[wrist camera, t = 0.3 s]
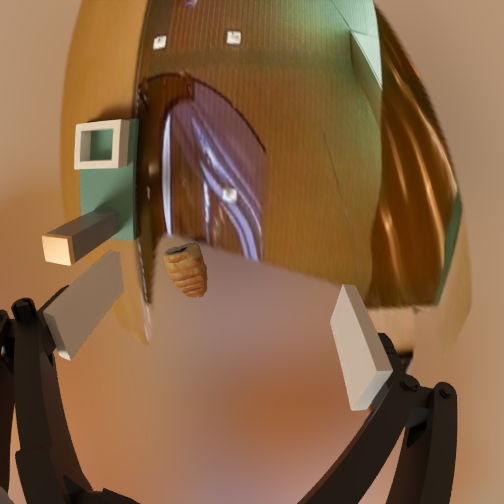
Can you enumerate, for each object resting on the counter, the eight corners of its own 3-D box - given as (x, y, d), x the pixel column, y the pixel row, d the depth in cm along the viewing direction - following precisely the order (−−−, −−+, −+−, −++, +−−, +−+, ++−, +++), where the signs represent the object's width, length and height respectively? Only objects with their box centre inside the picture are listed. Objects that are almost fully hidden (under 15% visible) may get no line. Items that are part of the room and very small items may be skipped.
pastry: (217, 288, 47) (214, 299, 43) (182, 296, 48) (177, 307, 44) (198, 238, 44) (193, 246, 40) (162, 249, 45) (154, 257, 41)
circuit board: (85, 124, 36) (81, 123, 35) (139, 119, 36) (136, 118, 35) (86, 233, 44) (82, 235, 42) (136, 238, 44) (133, 240, 43)
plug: (93, 210, 41) (41, 236, 28) (117, 211, 41) (67, 239, 28) (94, 230, 42) (45, 261, 29) (118, 232, 42) (71, 265, 29)
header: (86, 124, 35) (76, 124, 33) (129, 120, 35) (120, 119, 33) (84, 167, 38) (74, 169, 35) (127, 166, 38) (118, 168, 35)
